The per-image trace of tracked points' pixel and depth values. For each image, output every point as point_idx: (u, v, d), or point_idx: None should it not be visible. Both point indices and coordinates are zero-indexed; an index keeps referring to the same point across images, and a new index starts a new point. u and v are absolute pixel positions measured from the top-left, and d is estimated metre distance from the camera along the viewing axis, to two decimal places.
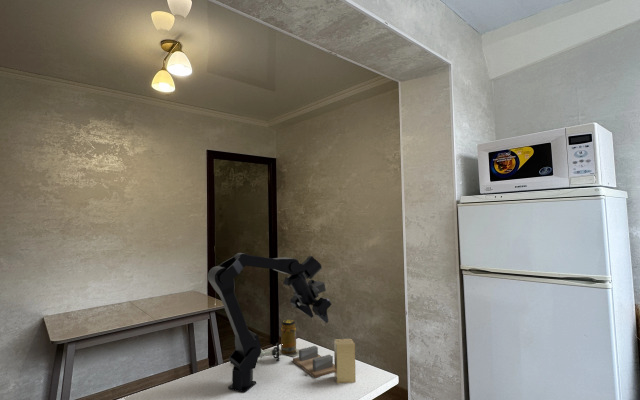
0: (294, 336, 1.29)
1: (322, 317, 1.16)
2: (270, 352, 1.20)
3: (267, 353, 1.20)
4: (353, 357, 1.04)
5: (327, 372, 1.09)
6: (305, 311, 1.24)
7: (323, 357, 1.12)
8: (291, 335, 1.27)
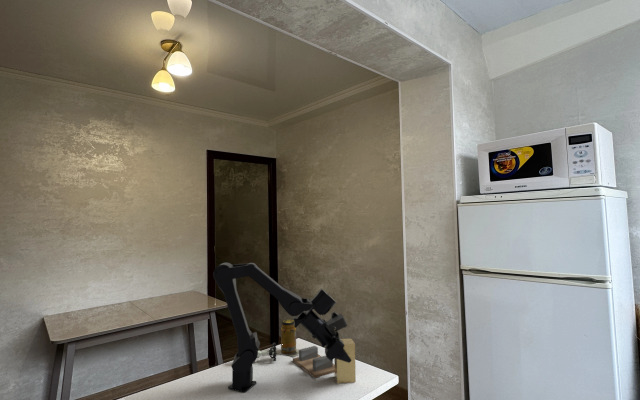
0: (294, 336, 1.29)
1: (339, 357, 1.02)
2: (267, 352, 1.20)
3: (264, 353, 1.20)
4: (353, 357, 1.04)
5: (327, 372, 1.09)
6: None
7: (323, 357, 1.12)
8: (291, 335, 1.27)
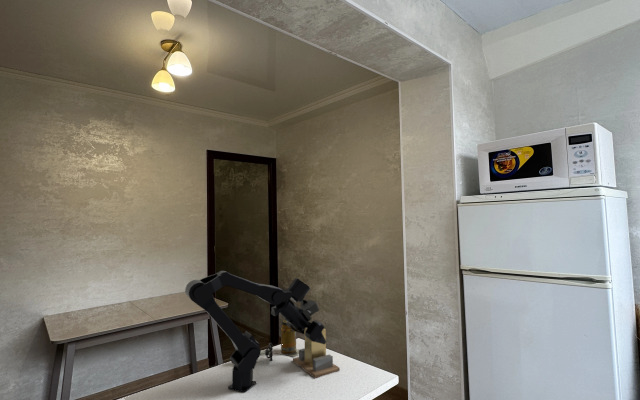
0: (294, 336, 1.29)
1: (318, 340, 1.11)
2: (263, 352, 1.20)
3: (260, 353, 1.20)
4: None
5: (327, 372, 1.09)
6: (303, 332, 1.20)
7: (323, 357, 1.12)
8: (291, 335, 1.27)
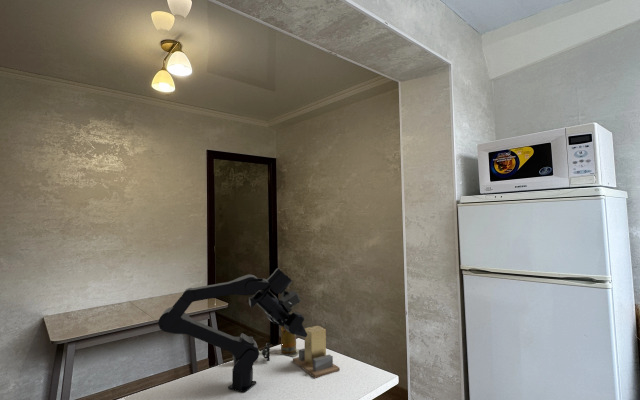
0: (294, 336, 1.29)
1: (298, 333, 1.05)
2: (260, 352, 1.20)
3: None
4: (324, 341, 1.16)
5: (327, 372, 1.09)
6: (284, 324, 1.14)
7: (323, 357, 1.12)
8: (291, 335, 1.27)
